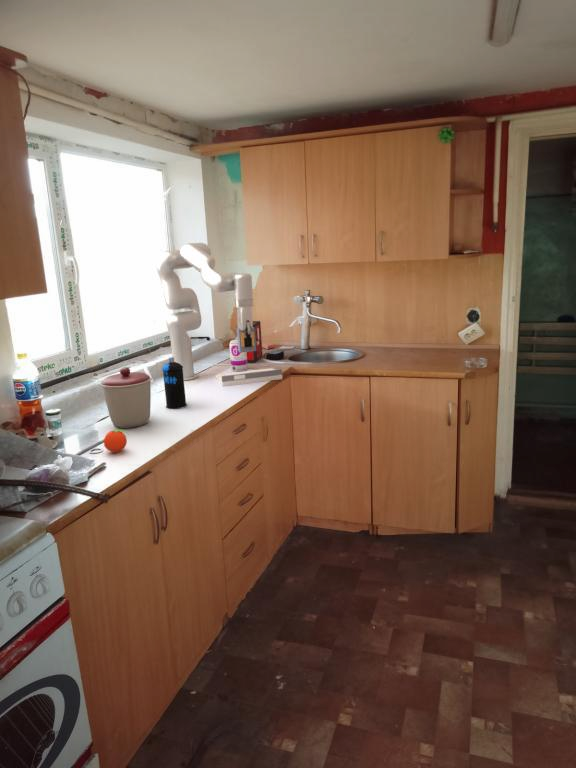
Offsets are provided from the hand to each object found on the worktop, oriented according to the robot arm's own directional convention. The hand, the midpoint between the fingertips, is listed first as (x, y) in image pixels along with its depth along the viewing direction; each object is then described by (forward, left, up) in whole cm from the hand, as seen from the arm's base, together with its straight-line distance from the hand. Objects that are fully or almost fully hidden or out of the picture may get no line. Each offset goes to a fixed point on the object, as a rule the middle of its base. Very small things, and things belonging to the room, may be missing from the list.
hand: (246, 345), depth 245 cm
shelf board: (+4, +17, -19) cm, 26 cm away
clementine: (-56, -58, -19) cm, 83 cm away
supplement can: (+4, +38, -19) cm, 43 cm away
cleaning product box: (+15, +59, -19) cm, 64 cm away
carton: (0, 0, -2) cm, 2 cm away
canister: (-51, -30, -19) cm, 63 cm away
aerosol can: (-33, -14, -19) cm, 41 cm away
